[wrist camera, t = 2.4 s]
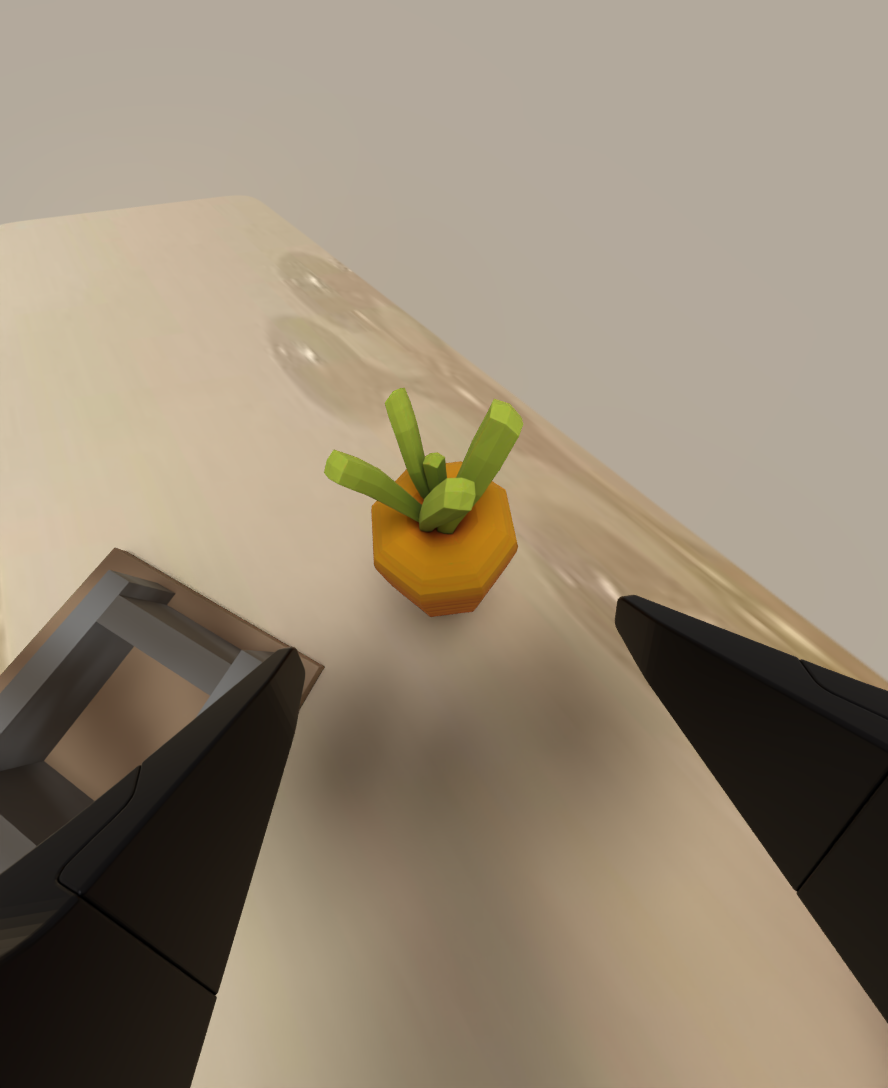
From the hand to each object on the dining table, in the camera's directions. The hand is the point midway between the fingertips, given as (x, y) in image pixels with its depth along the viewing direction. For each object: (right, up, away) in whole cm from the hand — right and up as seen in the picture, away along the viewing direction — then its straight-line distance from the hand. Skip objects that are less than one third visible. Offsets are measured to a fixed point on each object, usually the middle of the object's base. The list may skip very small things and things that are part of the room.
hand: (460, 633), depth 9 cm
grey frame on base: (-18, -8, +9) cm, 22 cm away
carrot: (0, -1, +11) cm, 11 cm away
